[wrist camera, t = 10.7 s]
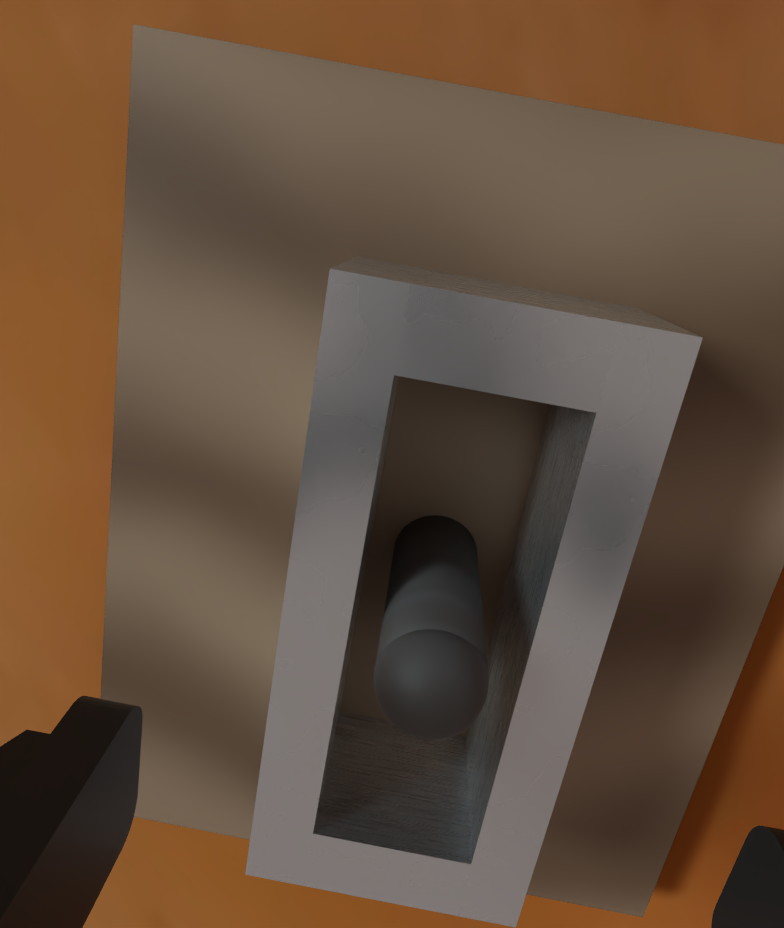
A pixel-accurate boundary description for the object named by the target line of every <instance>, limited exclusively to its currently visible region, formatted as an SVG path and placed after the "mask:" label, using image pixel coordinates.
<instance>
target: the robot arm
mask: <svg viewBox="0 0 784 928" xmlns="http://www.w3.org/2000/svg"><path fill="white" fill-rule="evenodd" d="M142 720H143V715H142V709H141V707H139V706H136V705H130V704H125V703H120V702H115V701H109V700H104V699H99V698H93V697H88V696H82V697H80V698H78V699H77V700H76V701H75V702H74V704H73V705H72V706H71V707H70V709H69V710H68V711H67V713H66V714H65V715H64V717H63V718H62V719H61V721H60V722H59V723H58V725H57V726H56V727H55V729H54V730H53V731H52V733H51V734H47V733H41V732H36V731H31V730H26V731H24V732H22V733H21V734H19V735H18V736H16V737H15V738H13V739H12V740H10V741H9V742H7V743H5V744H4V745H2V746H1V747H0V928H82V927H83V925H84V923H85V921H86V919H87V917H88V915H89V913H90V911H91V909H92V908H93V906H94V904H95V902H96V900H97V898H98V896H99V894H100V892H101V890H102V888H103V886H104V884H105V882H106V880H107V878H108V876H109V874H110V872H111V870H112V868H113V866H114V864H115V862H116V860H117V858H118V856H119V854H120V852H121V850H122V848H123V846H124V843H125V841H126V838H127V836H128V833H129V830H130V827H131V824H132V821H133V817H134V813H135V809H136V804H137V797H138V784H139V768H140V752H141V736H142ZM712 928H784V830H781V829H776V828H771V827H765V826H757V827H755V828H753V829H752V830H751V831H750V832H749V834H748V836H747V838H746V840H745V842H744V844H743V847H742V849H741V851H740V853H739V855H738V858H737V860H736V862H735V864H734V866H733V869H732V871H731V873H730V875H729V878H728V880H727V882H726V884H725V886H724V889H723V891H722V893H721V895H720V897H719V900H718V902H717V904H716V907H715V909H714V913H713V918H712Z"/></svg>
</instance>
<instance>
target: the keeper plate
mask: <svg viewBox="0 0 784 928" xmlns="http://www.w3.org/2000/svg"><path fill="white" fill-rule="evenodd" d="M357 257H363V258H368V259H374V260H379V261H385V262H390V263H396V264H401V265H406V266H412V267H417V268H423V269H428V270H434V271H439V272H444V273H450V274H455V275H461V276H466V277H471V278H477V279H482V280H488V281H493V282H499V283H504V284H509V285H515V286H520V287H526V288H531V289H536V290H542V291H547V292H553V293H558V294H564V295H569V296H574V297H580V298H585V299H591V300H596V301H602V302H607V303H612V304H618V305H623V306H629V307H634V308H639V309H641V310H643V311H646V312H648V313H650V314H652V315H654V316H657V317H659V318H661V319H663V320H665V321H668V322H670V323H672V324H674V325H676V326H679V327H681V328H683V329H685V330H687V331H690V332H692V333H694V334H696V335H698V336H701V337H703V339H702V342H701V345H700V348H699V351H698V354H697V358H696V361H695V364H694V367H693V370H692V373H691V376H690V380H689V383H688V386H687V389H686V392H685V395H684V399H683V402H682V405H681V408H680V411H679V414H678V417H677V421H676V424H675V427H674V430H673V433H672V436H671V439H670V443H669V446H668V449H667V452H666V455H665V458H664V462H663V465H662V468H661V471H660V474H659V477H658V480H657V484H656V487H655V490H654V493H653V496H652V499H651V502H650V506H649V509H648V512H647V515H646V518H645V521H644V525H643V528H642V531H641V534H640V537H639V540H638V543H637V547H636V550H635V553H634V556H633V559H632V562H631V565H630V569H629V572H628V575H627V578H626V581H625V584H624V588H623V591H622V594H621V597H620V600H619V603H618V606H617V610H616V613H615V616H614V619H613V622H612V625H611V629H610V632H609V635H608V638H607V641H606V644H605V647H604V651H603V654H602V657H601V660H600V663H599V666H598V669H597V673H596V676H595V679H594V682H593V685H592V688H591V692H590V695H589V698H588V701H587V704H586V707H585V710H584V714H583V717H582V720H581V723H580V726H579V729H578V732H577V736H576V739H575V742H574V745H573V748H572V751H571V755H570V758H569V761H568V764H567V767H566V770H565V773H564V777H563V780H562V783H561V786H560V789H559V792H558V795H557V799H556V802H555V805H554V808H553V811H552V814H551V818H550V821H549V824H548V827H547V830H546V833H545V836H544V840H543V843H542V846H541V849H540V852H539V855H538V858H537V862H536V865H535V868H534V871H533V874H532V877H531V881H530V884H529V887H528V890H527V893H526V894H528V895H533V896H538V897H543V898H548V899H553V900H558V901H563V902H568V903H573V904H578V905H583V906H588V907H593V908H599V909H604V910H609V911H614V912H619V913H624V914H629V915H634V916H639V917H643V916H644V913H645V911H646V908H647V906H648V903H649V901H650V898H651V896H652V893H653V891H654V888H655V886H656V883H657V881H658V878H659V876H660V873H661V871H662V868H663V866H664V863H665V861H666V858H667V856H668V853H669V851H670V848H671V846H672V843H673V841H674V838H675V836H676V833H677V831H678V828H679V826H680V823H681V821H682V818H683V816H684V813H685V811H686V808H687V806H688V803H689V801H690V798H691V796H692V793H693V791H694V788H695V786H696V783H697V781H698V778H699V776H700V773H701V771H702V768H703V766H704V763H705V761H706V758H707V756H708V753H709V751H710V748H711V746H712V744H713V741H714V739H715V736H716V734H717V731H718V729H719V726H720V724H721V721H722V719H723V716H724V714H725V711H726V709H727V706H728V704H729V701H730V699H731V696H732V694H733V691H734V689H735V686H736V684H737V681H738V679H739V676H740V674H741V671H742V669H743V666H744V664H745V661H746V659H747V656H748V654H749V651H750V649H751V646H752V644H753V641H754V639H755V636H756V634H757V631H758V629H759V626H760V624H761V621H762V619H763V616H764V614H765V611H766V609H767V606H768V604H769V601H770V599H771V596H772V594H773V591H774V589H775V586H776V584H777V581H778V579H779V576H780V574H781V571H782V569H783V566H784V145H783V144H777V143H772V142H767V141H761V140H756V139H750V138H745V137H740V136H734V135H729V134H723V133H718V132H713V131H707V130H702V129H696V128H691V127H686V126H680V125H675V124H669V123H664V122H659V121H653V120H648V119H642V118H637V117H631V116H626V115H621V114H615V113H610V112H604V111H599V110H594V109H588V108H583V107H577V106H572V105H567V104H561V103H556V102H550V101H545V100H540V99H534V98H529V97H523V96H518V95H513V94H507V93H502V92H496V91H491V90H485V89H480V88H475V87H469V86H464V85H458V84H453V83H448V82H442V81H437V80H431V79H426V78H421V77H415V76H410V75H404V74H399V73H394V72H388V71H383V70H377V69H372V68H367V67H361V66H356V65H350V64H345V63H339V62H334V61H329V60H323V59H318V58H312V57H307V56H302V55H296V54H291V53H285V52H280V51H275V50H269V49H264V48H258V47H253V46H248V45H242V44H237V43H231V42H226V41H221V40H215V39H210V38H204V37H199V36H193V35H188V34H183V33H177V32H172V31H166V30H161V29H156V28H150V27H145V26H139V25H134V24H133V42H132V62H131V83H130V103H129V124H128V144H127V165H126V185H125V206H124V227H123V247H122V268H121V288H120V309H119V329H118V350H117V370H116V391H115V412H114V432H113V453H112V473H111V494H110V514H109V535H108V555H107V576H106V597H105V617H104V638H103V658H102V679H101V699H104V700H109V701H115V702H120V703H125V704H130V705H136V706H139V707H141V709H142V715H143V720H142V736H141V752H140V768H139V784H138V797H137V804H136V809H135V813H134V817H138V818H143V819H148V820H153V821H158V822H163V823H168V824H173V825H178V826H184V827H189V828H194V829H199V830H204V831H209V832H214V833H219V834H224V835H229V836H234V837H239V838H244V839H249V840H250V837H251V830H252V823H253V816H254V809H255V801H256V794H257V787H258V780H259V773H260V766H261V758H262V751H263V744H264V737H265V730H266V722H267V715H268V708H269V701H270V694H271V687H272V679H273V672H274V665H275V658H276V651H277V644H278V636H279V629H280V622H281V615H282V608H283V601H284V593H285V586H286V579H287V572H288V565H289V558H290V550H291V543H292V536H293V529H294V522H295V514H296V507H297V500H298V493H299V486H300V479H301V471H302V464H303V457H304V450H305V443H306V436H307V428H308V421H309V414H310V407H311V400H312V393H313V385H314V378H315V371H316V364H317V357H318V350H319V342H320V335H321V328H322V321H323V314H324V306H325V299H326V292H327V285H328V278H329V271H330V268H332V267H335V266H337V265H340V264H342V263H345V262H347V261H350V260H352V259H355V258H357ZM549 408H550V404H546V403H541V402H536V401H530V400H525V399H520V398H514V397H509V396H503V395H498V394H493V393H487V392H482V391H477V390H471V389H466V388H461V387H455V386H450V385H444V384H439V383H434V382H428V381H423V380H418V379H412V378H407V377H402V376H400V378H399V384H398V389H397V395H396V400H395V406H394V411H393V417H392V422H391V428H390V434H389V439H388V445H387V450H386V456H385V461H384V467H383V473H382V478H381V484H380V489H379V495H378V500H377V506H376V512H375V517H374V523H373V528H372V534H371V539H370V545H369V550H368V556H367V562H366V567H365V573H364V578H363V584H362V589H361V595H360V601H359V606H358V612H357V617H356V623H355V628H354V634H353V640H352V645H351V651H350V656H349V662H348V667H347V673H346V678H345V684H344V690H343V695H342V701H341V706H340V711H341V712H346V713H351V714H356V715H361V716H367V717H372V718H377V719H382V720H387V721H390V722H391V723H392V724H393V725H394V726H395V727H397V728H398V729H399V730H401V731H402V732H404V733H406V734H408V735H410V736H412V737H415V738H418V739H423V740H441V739H446V738H449V737H452V736H454V735H457V734H460V735H465V736H466V734H467V731H468V727H469V726H470V725H471V724H472V723H473V722H474V720H475V719H476V718H477V717H478V715H479V714H480V712H481V710H482V708H483V706H484V704H485V701H486V698H487V693H488V683H489V676H488V665H487V652H488V648H489V644H490V640H491V636H492V632H493V628H494V624H495V620H496V617H497V613H498V609H499V605H500V601H501V597H502V593H503V589H504V585H505V581H506V577H507V573H508V569H509V565H510V562H511V558H512V554H513V550H514V546H515V542H516V538H517V534H518V530H519V526H520V522H521V518H522V514H523V510H524V507H525V503H526V499H527V495H528V491H529V487H530V483H531V479H532V475H533V471H534V467H535V463H536V459H537V455H538V451H539V448H540V444H541V440H542V436H543V432H544V428H545V424H546V420H547V416H548V412H549Z"/></svg>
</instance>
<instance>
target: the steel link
mask: <svg viewBox="0 0 784 928" xmlns="http://www.w3.org/2000/svg"><path fill="white" fill-rule="evenodd" d="M702 339H703V337H701V336H698V335H696V334H694V333H692V332H690V331H687V330H685V329H683V328H681V327H679V326H676V325H674V324H672V323H670V322H668V321H665V320H663V319H661V318H659V317H657V316H654V315H652V314H650V313H648V312H646V311H643V310H641V309H639V308H634V307H629V306H623V305H618V304H612V303H607V302H602V301H596V300H591V299H585V298H580V297H574V296H569V295H564V294H558V293H553V292H547V291H542V290H536V289H531V288H526V287H520V286H515V285H509V284H504V283H499V282H493V281H488V280H482V279H477V278H471V277H466V276H461V275H455V274H450V273H444V272H439V271H434V270H428V269H423V268H417V267H412V266H406V265H401V264H396V263H390V262H385V261H379V260H374V259H368V258H363V257H357V258H355V259H352V260H350V261H347V262H345V263H342V264H340V265H337V266H335V267H332V268H330V271H329V278H328V285H327V292H326V299H325V306H324V314H323V321H322V328H321V335H320V342H319V350H318V357H317V364H316V371H315V378H314V385H313V393H312V400H311V407H310V414H309V421H308V428H307V436H306V443H305V450H304V457H303V464H302V471H301V479H300V486H299V493H298V500H297V507H296V514H295V522H294V529H293V536H292V543H291V550H290V558H289V565H288V572H287V579H286V586H285V593H284V601H283V608H282V615H281V622H280V629H279V636H278V644H277V651H276V658H275V665H274V672H273V679H272V687H271V694H270V701H269V708H268V715H267V722H266V730H265V737H264V744H263V751H262V758H261V766H260V773H259V780H258V787H257V794H256V801H255V809H254V816H253V823H252V830H251V837H250V844H249V852H248V859H247V866H246V873H245V874H246V875H251V876H256V877H261V878H266V879H271V880H276V881H281V882H286V883H292V884H297V885H302V886H307V887H312V888H317V889H322V890H327V891H332V892H338V893H343V894H348V895H353V896H358V897H363V898H368V899H373V900H378V901H384V902H389V903H394V904H399V905H404V906H409V907H414V908H419V909H424V910H430V911H435V912H440V913H445V914H450V915H455V916H460V917H465V918H470V919H476V920H481V921H486V922H491V923H496V924H501V925H506V926H511V927H516V925H517V921H518V918H519V915H520V912H521V909H522V906H523V903H524V899H525V896H526V893H527V890H528V887H529V884H530V881H531V877H532V874H533V871H534V868H535V865H536V862H537V858H538V855H539V852H540V849H541V846H542V843H543V840H544V836H545V833H546V830H547V827H548V824H549V821H550V818H551V814H552V811H553V808H554V805H555V802H556V799H557V795H558V792H559V789H560V786H561V783H562V780H563V777H564V773H565V770H566V767H567V764H568V761H569V758H570V755H571V751H572V748H573V745H574V742H575V739H576V736H577V732H578V729H579V726H580V723H581V720H582V717H583V714H584V710H585V707H586V704H587V701H588V698H589V695H590V692H591V688H592V685H593V682H594V679H595V676H596V673H597V669H598V666H599V663H600V660H601V657H602V654H603V651H604V647H605V644H606V641H607V638H608V635H609V632H610V629H611V625H612V622H613V619H614V616H615V613H616V610H617V606H618V603H619V600H620V597H621V594H622V591H623V588H624V584H625V581H626V578H627V575H628V572H629V569H630V565H631V562H632V559H633V556H634V553H635V550H636V547H637V543H638V540H639V537H640V534H641V531H642V528H643V525H644V521H645V518H646V515H647V512H648V509H649V506H650V502H651V499H652V496H653V493H654V490H655V487H656V484H657V480H658V477H659V474H660V471H661V468H662V465H663V462H664V458H665V455H666V452H667V449H668V446H669V443H670V439H671V436H672V433H673V430H674V427H675V424H676V421H677V417H678V414H679V411H680V408H681V405H682V402H683V399H684V395H685V392H686V389H687V386H688V383H689V380H690V376H691V373H692V370H693V367H694V364H695V361H696V358H697V354H698V351H699V348H700V345H701V342H702ZM400 376H402V377H407V378H412V379H418V380H423V381H428V382H434V383H439V384H444V385H450V386H455V387H461V388H466V389H471V390H477V391H482V392H487V393H493V394H498V395H503V396H509V397H514V398H520V399H525V400H530V401H536V402H541V403H546V404H550V408H549V412H548V416H547V420H546V424H545V428H544V432H543V436H542V440H541V444H540V448H539V451H538V455H537V459H536V463H535V467H534V471H533V475H532V479H531V483H530V487H529V491H528V495H527V499H526V503H525V507H524V510H523V514H522V518H521V522H520V526H519V530H518V534H517V538H516V542H515V546H514V550H513V554H512V558H511V562H510V565H509V569H508V573H507V577H506V581H505V585H504V589H503V593H502V597H501V601H500V605H499V609H498V613H497V617H496V620H495V624H494V628H493V632H492V636H491V640H490V644H489V648H488V652H487V665H488V676H489V683H488V693H487V698H486V701H485V704H484V706H483V708H482V710H481V712H480V714H479V715H478V717H477V718H476V719H475V720H474V722H473V723H472V724H471V725H470V726H469V727H468V731H467V734H466V736H465V735H460V734H457V735H454V736H452V737H449V738H446V739H441V740H423V739H418V738H415V737H412V736H410V735H408V734H406V733H404V732H402V731H401V730H399V729H398V728H397V727H395V726H394V725H393V724H392V723H391V722H390V721H387V720H382V719H377V718H372V717H367V716H361V715H356V714H351V713H346V712H341V711H340V706H341V701H342V695H343V690H344V684H345V678H346V673H347V667H348V662H349V656H350V651H351V645H352V640H353V634H354V628H355V623H356V617H357V612H358V606H359V601H360V595H361V589H362V584H363V578H364V573H365V567H366V562H367V556H368V550H369V545H370V539H371V534H372V528H373V523H374V517H375V512H376V506H377V500H378V495H379V489H380V484H381V478H382V473H383V467H384V461H385V456H386V450H387V445H388V439H389V434H390V428H391V422H392V417H393V411H394V406H395V400H396V395H397V389H398V384H399V378H400Z"/></svg>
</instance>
